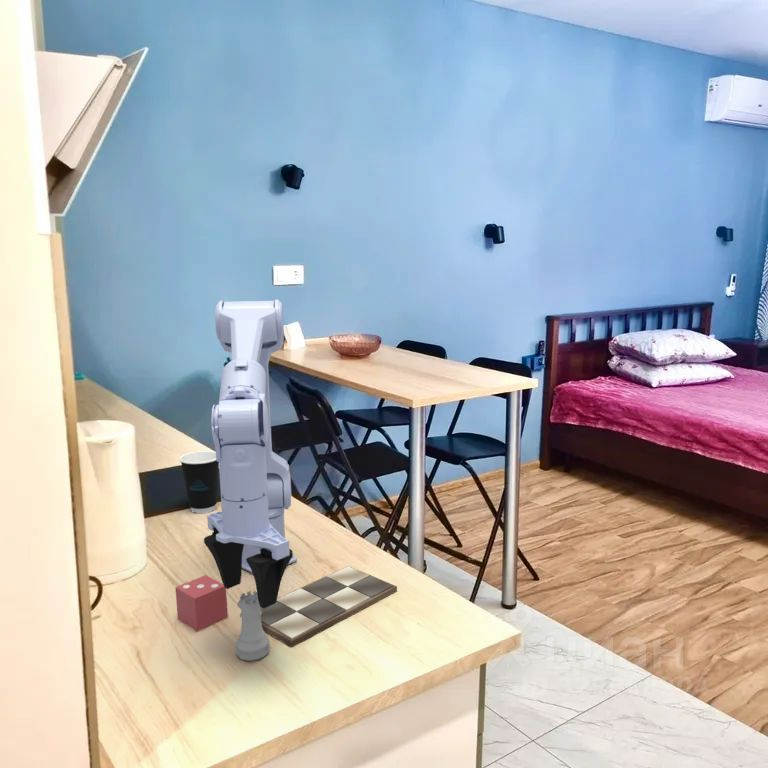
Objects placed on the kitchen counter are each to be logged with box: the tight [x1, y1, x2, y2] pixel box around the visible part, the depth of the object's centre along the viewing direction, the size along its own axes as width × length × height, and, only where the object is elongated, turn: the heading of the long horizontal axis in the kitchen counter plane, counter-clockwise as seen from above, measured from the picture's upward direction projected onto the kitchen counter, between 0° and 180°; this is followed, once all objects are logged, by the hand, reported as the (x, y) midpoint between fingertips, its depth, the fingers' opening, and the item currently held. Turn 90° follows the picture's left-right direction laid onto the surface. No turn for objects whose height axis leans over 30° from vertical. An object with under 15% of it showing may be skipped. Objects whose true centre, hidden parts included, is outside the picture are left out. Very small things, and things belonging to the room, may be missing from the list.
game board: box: [260, 565, 398, 648], centre depth 105 cm, size 11×21×1 cm, turn 137°
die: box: [174, 574, 229, 632], centre depth 102 cm, size 5×5×5 cm
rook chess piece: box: [235, 591, 271, 662], centre depth 93 cm, size 4×4×8 cm
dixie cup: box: [178, 450, 219, 514], centre depth 143 cm, size 8×8×11 cm
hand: (249, 595), depth 92 cm, fingers open, 7 cm apart
